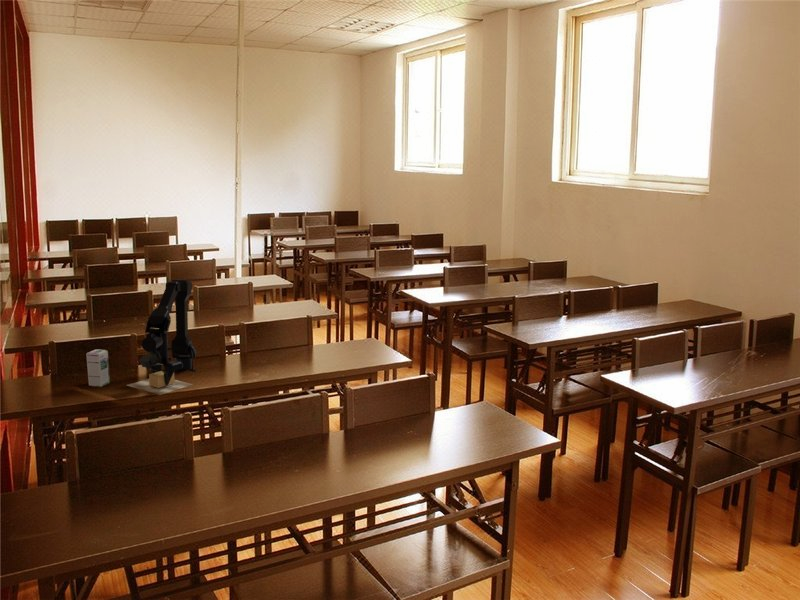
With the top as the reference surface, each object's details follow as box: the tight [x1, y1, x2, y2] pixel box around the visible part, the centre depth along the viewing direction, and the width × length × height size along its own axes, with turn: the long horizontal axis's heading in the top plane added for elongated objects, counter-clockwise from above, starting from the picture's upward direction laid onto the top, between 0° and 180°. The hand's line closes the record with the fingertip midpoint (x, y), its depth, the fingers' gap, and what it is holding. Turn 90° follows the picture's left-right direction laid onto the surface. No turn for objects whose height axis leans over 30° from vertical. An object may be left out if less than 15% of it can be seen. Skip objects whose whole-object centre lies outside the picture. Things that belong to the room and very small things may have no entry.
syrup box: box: [85, 349, 111, 387], centre depth 280 cm, size 6×6×14 cm
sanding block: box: [148, 371, 176, 388], centre depth 280 cm, size 8×5×5 cm, turn 147°
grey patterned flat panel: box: [126, 378, 194, 396], centre depth 282 cm, size 16×20×1 cm
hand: (162, 383), depth 281 cm, fingers closed on sanding block, 5 cm apart
